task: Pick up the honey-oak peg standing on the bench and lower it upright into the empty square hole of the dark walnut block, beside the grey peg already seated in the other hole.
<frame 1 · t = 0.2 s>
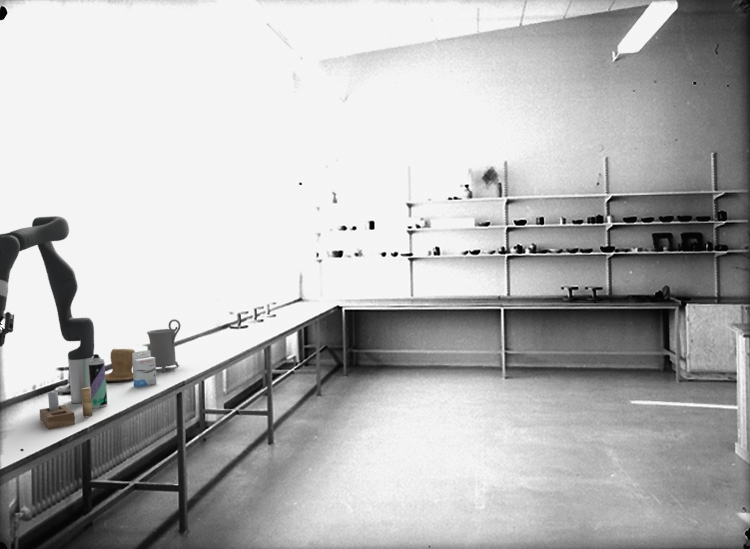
walnut block: (57, 422, 206), on the table
tan ankle boot: (120, 380, 274), on the table
oak peg: (87, 415, 213), on the table
mug: (165, 369, 295), on the table
grey peg: (55, 420, 210), resting in walnut block
spray can: (99, 406, 227), on the table
ink box: (145, 385, 261), on the table
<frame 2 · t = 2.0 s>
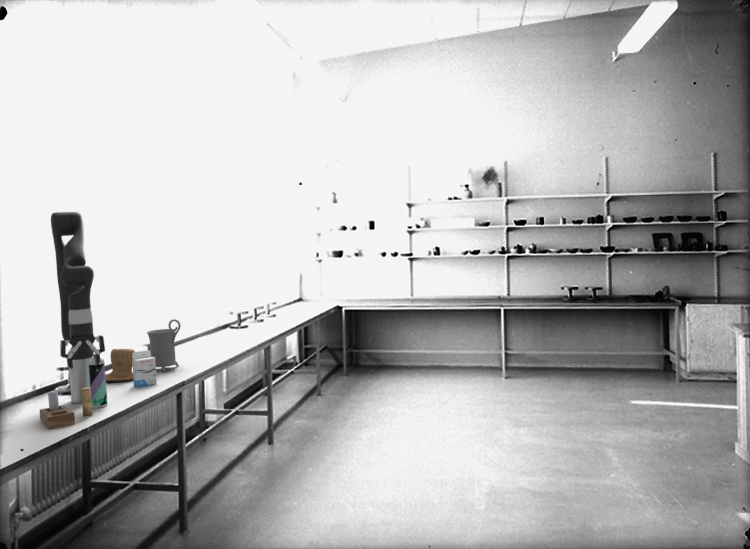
hand: (84, 366, 212), 18 cm above the table, tool pointing down, fingers open, 8 cm apart
nothing on the table moved.
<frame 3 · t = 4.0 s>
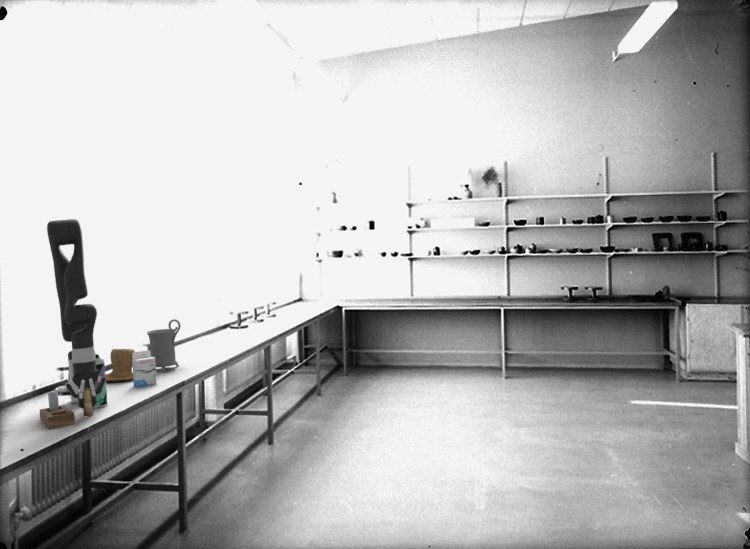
hand: (87, 407, 213), 3 cm above the table, tool pointing down, fingers closed on oak peg, 3 cm apart
oak peg: (88, 415, 213), on the table, touching gripper
everything else where it was.
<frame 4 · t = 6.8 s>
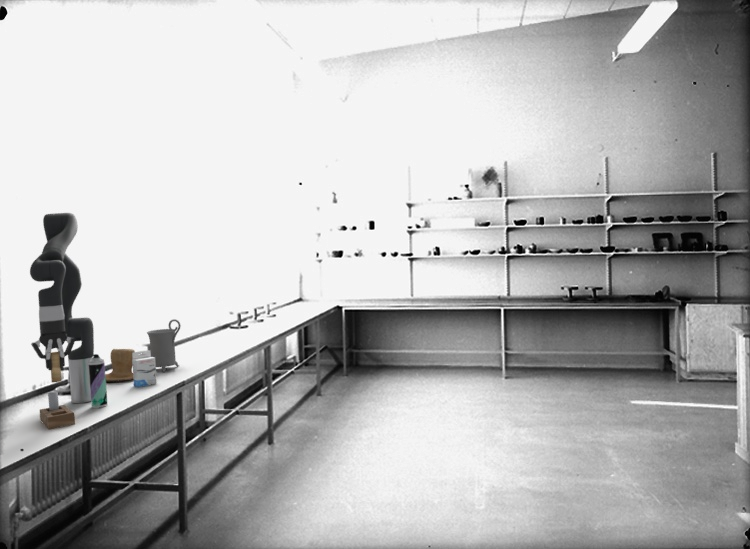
hand: (55, 368, 202), 19 cm above the table, tool pointing down, fingers closed on oak peg, 3 cm apart
oak peg: (56, 381, 203), point 15 cm above the table, touching gripper
everything else where it was.
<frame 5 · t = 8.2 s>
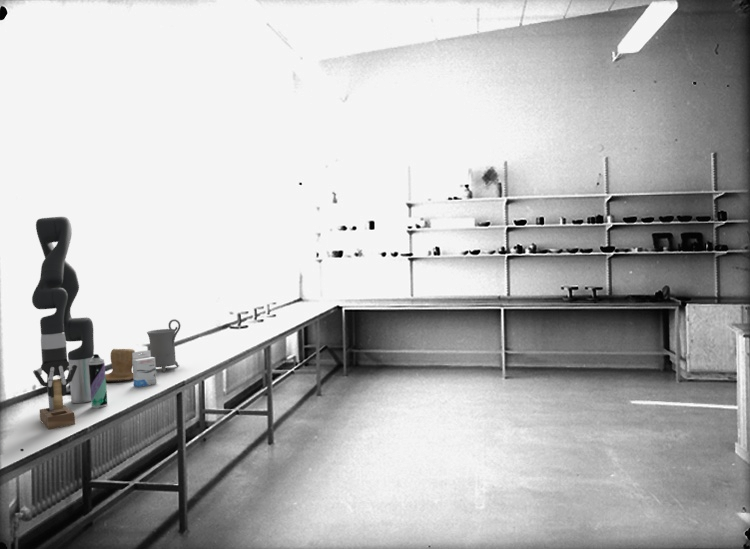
hand: (57, 396, 203), 10 cm above the table, tool pointing down, fingers closed on oak peg, 3 cm apart
oak peg: (58, 408, 203), point 6 cm above the table, touching gripper
everything else where it was.
when the fingers open (5 cm above the table, at t = 9.6 s): oak peg stays where it is, resting in walnut block.
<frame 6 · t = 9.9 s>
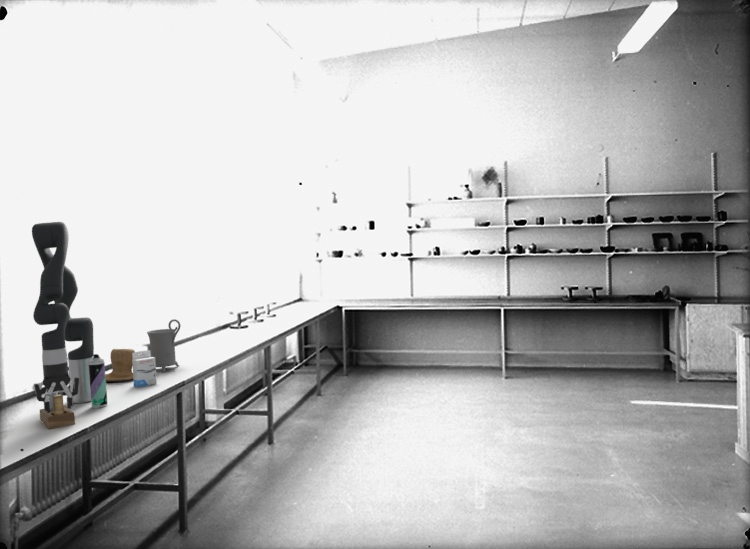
hand: (58, 410, 203), 5 cm above the table, tool pointing down, fingers open, 6 cm apart
oak peg: (59, 424, 203), resting in walnut block
everything else where it was.
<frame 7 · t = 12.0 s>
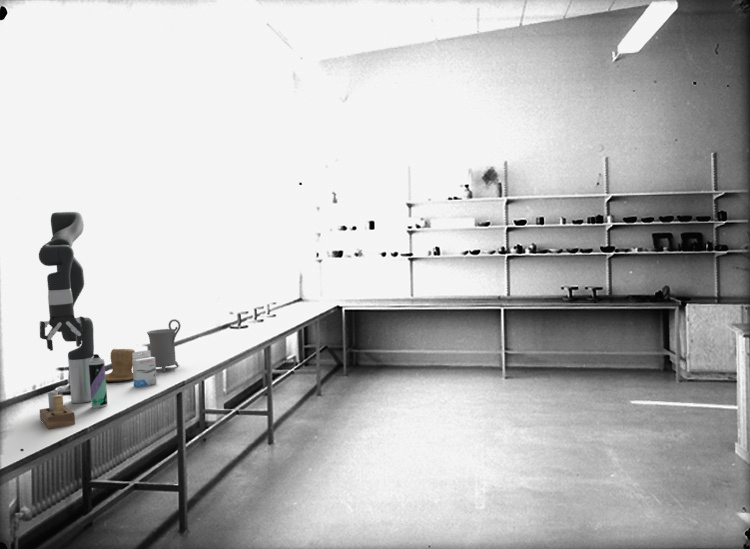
hand: (64, 348, 207), 26 cm above the table, tool pointing down, fingers open, 8 cm apart
nothing on the table moved.
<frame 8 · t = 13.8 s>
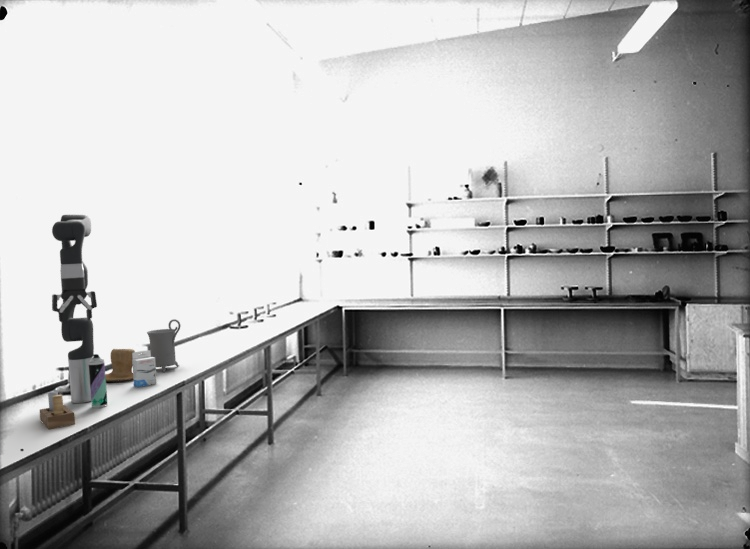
hand: (75, 321, 213), 34 cm above the table, tool pointing down, fingers open, 8 cm apart
nothing on the table moved.
at the end: oak peg 0.1 cm from the target spot on the walnut block, point 0.0 cm above the walnut block's base; oak peg tilted 0°; the gripper is holding nothing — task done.
